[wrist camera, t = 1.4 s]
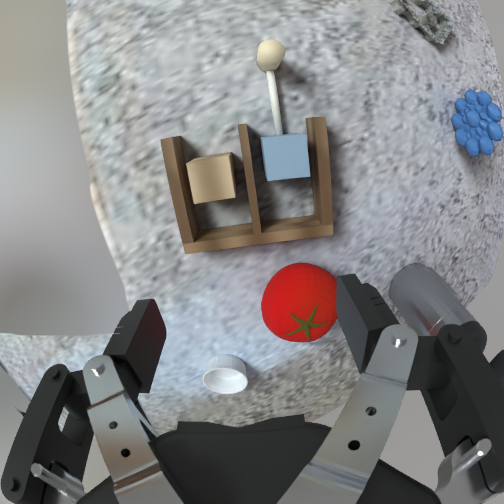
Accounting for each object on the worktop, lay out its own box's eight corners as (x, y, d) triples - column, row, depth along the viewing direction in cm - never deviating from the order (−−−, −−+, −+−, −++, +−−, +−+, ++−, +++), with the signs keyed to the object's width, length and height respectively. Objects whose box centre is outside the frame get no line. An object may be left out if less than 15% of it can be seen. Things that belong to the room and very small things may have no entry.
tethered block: (284, 51, 29) (291, 38, 23) (300, 168, 36) (310, 176, 31) (247, 54, 29) (247, 41, 24) (264, 172, 36) (267, 181, 31)
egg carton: (383, 5, 24) (395, -3, 21) (399, -14, 22) (411, -22, 18) (432, 49, 27) (446, 46, 23) (445, 28, 24) (459, 23, 21)
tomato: (250, 304, 46) (251, 349, 36) (278, 241, 41) (287, 278, 32) (310, 320, 48) (322, 363, 38) (342, 263, 43) (365, 300, 33)
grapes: (462, 159, 35) (509, 174, 24) (437, 144, 34) (487, 156, 23) (473, 102, 30) (520, 106, 19) (448, 83, 29) (497, 82, 18)
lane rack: (316, 117, 33) (325, 116, 29) (324, 223, 40) (333, 234, 36) (170, 138, 34) (160, 139, 30) (191, 241, 41) (185, 254, 37)
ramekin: (247, 379, 55) (247, 395, 51) (206, 377, 55) (204, 393, 51) (248, 352, 51) (248, 368, 47) (203, 350, 51) (200, 366, 47)
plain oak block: (231, 151, 35) (228, 156, 30) (236, 186, 37) (235, 197, 32) (195, 158, 36) (186, 163, 30) (201, 192, 38) (194, 203, 32)
